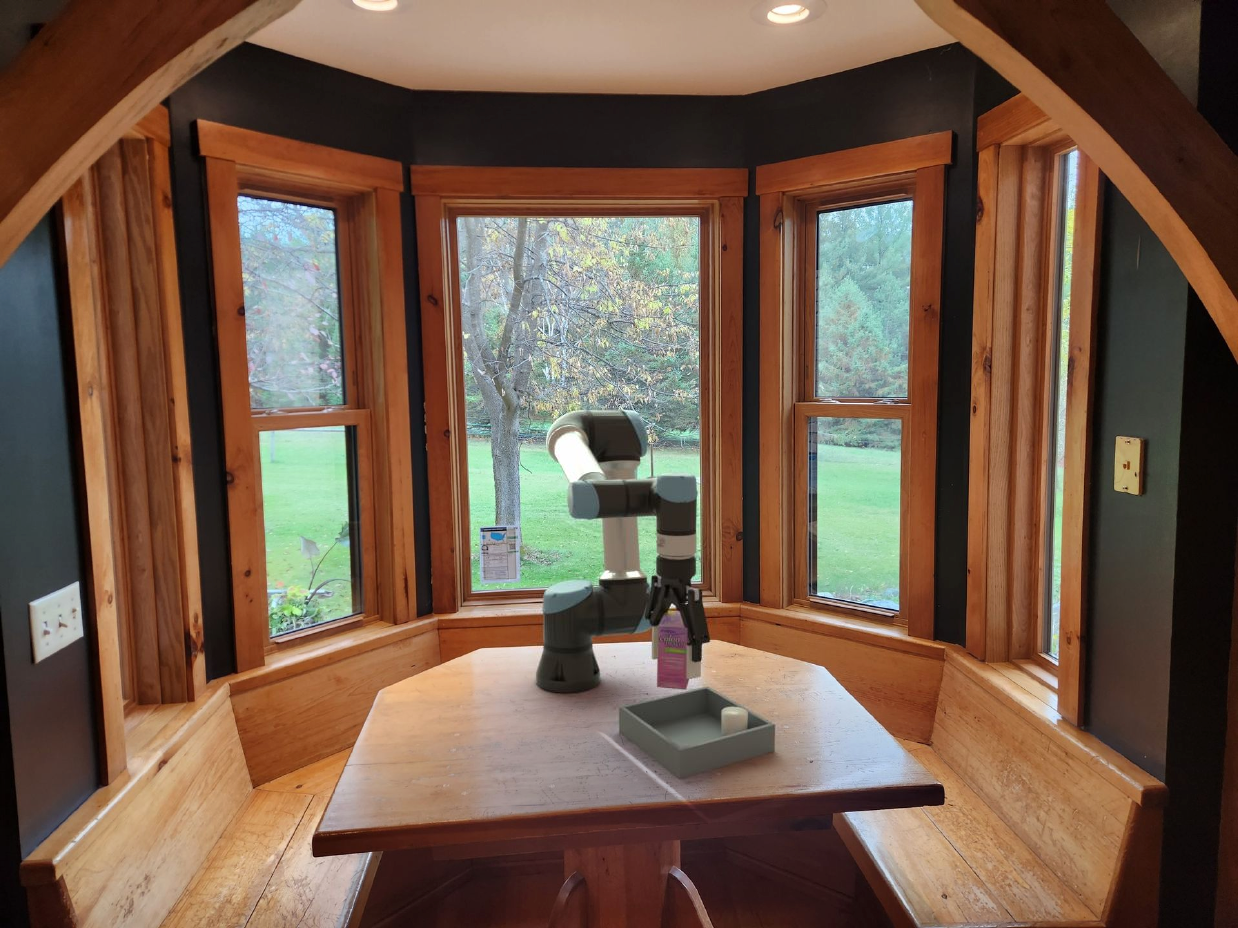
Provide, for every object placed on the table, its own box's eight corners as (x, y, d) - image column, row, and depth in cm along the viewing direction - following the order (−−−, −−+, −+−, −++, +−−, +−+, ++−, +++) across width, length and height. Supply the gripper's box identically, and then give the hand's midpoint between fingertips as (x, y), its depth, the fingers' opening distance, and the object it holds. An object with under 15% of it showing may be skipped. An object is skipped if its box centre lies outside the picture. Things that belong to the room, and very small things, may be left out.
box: (687, 689, 143) (687, 627, 142) (656, 687, 144) (656, 625, 143) (693, 670, 153) (693, 611, 152) (664, 668, 155) (664, 609, 153)
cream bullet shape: (716, 739, 152) (716, 709, 151) (736, 733, 154) (736, 704, 154) (731, 749, 148) (732, 719, 147) (752, 743, 150) (753, 713, 149)
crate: (619, 735, 155) (619, 706, 155) (707, 713, 166) (707, 686, 165) (679, 783, 137) (679, 750, 136) (774, 754, 147) (775, 724, 147)
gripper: (627, 545, 155) (627, 652, 157) (696, 569, 134) (695, 691, 137) (659, 542, 159) (658, 646, 161) (730, 564, 138) (729, 683, 140)
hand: (675, 667), depth 149 cm, fingers closed on box, 11 cm apart
